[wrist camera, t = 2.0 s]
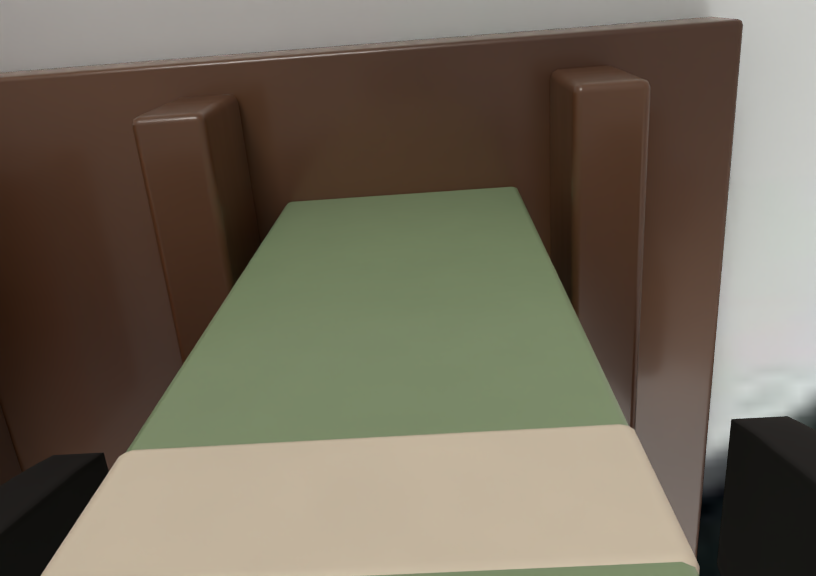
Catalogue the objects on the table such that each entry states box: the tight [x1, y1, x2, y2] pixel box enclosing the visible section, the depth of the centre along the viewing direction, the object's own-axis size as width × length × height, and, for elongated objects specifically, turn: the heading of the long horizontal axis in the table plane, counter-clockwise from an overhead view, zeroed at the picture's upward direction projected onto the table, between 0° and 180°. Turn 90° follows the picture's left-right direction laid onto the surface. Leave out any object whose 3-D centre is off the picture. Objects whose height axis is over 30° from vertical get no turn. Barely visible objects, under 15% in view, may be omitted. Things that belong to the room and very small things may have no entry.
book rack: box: [0, 17, 743, 560], centre depth 8 cm, size 10×17×8 cm, turn 94°
